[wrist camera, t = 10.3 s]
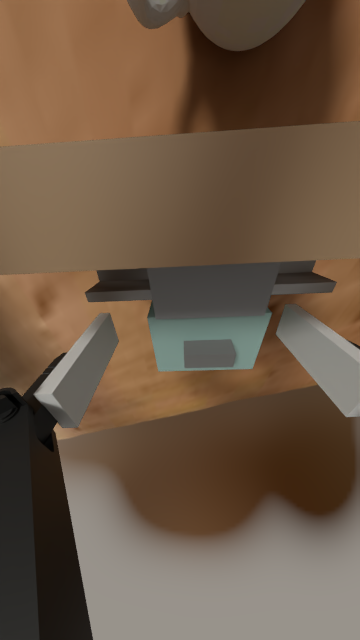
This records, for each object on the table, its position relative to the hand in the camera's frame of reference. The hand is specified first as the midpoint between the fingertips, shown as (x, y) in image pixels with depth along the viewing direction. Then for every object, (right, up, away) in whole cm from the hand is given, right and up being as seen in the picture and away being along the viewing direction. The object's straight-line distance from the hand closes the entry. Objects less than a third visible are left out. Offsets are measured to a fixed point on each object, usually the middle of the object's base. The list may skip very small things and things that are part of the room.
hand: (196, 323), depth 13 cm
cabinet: (0, +5, +5) cm, 7 cm away
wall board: (0, +11, +6) cm, 13 cm away
